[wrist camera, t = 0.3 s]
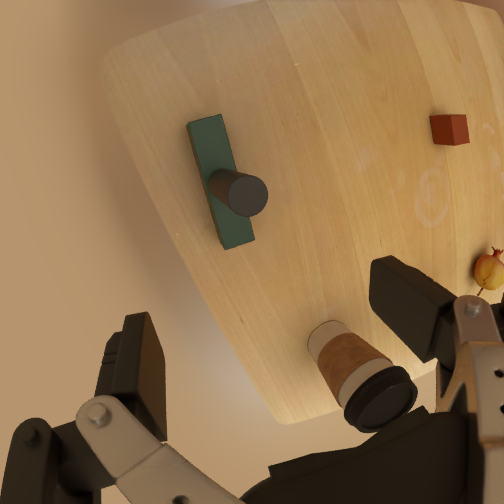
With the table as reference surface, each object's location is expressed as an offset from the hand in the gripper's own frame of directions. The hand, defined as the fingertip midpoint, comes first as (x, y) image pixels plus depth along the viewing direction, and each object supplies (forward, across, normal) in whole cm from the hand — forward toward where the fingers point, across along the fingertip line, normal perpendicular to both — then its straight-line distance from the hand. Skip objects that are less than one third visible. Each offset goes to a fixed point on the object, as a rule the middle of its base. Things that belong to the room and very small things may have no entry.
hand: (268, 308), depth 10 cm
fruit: (+23, -46, +20) cm, 55 cm away
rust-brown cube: (+24, -33, -4) cm, 41 cm away
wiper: (+22, -1, -1) cm, 22 cm away
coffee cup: (+21, -12, +22) cm, 33 cm away
